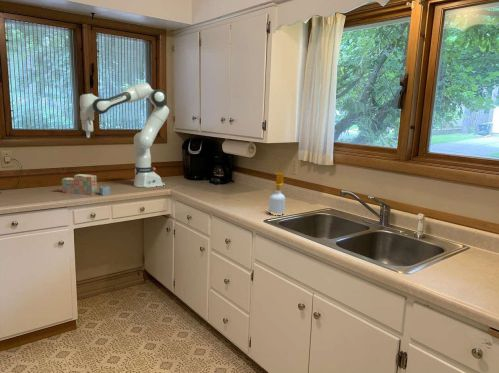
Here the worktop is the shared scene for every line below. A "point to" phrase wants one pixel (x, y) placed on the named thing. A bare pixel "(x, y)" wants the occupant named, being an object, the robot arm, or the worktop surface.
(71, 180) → the stack of blocks
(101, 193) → the slate cube
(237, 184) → the worktop surface
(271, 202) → the soap bottle
